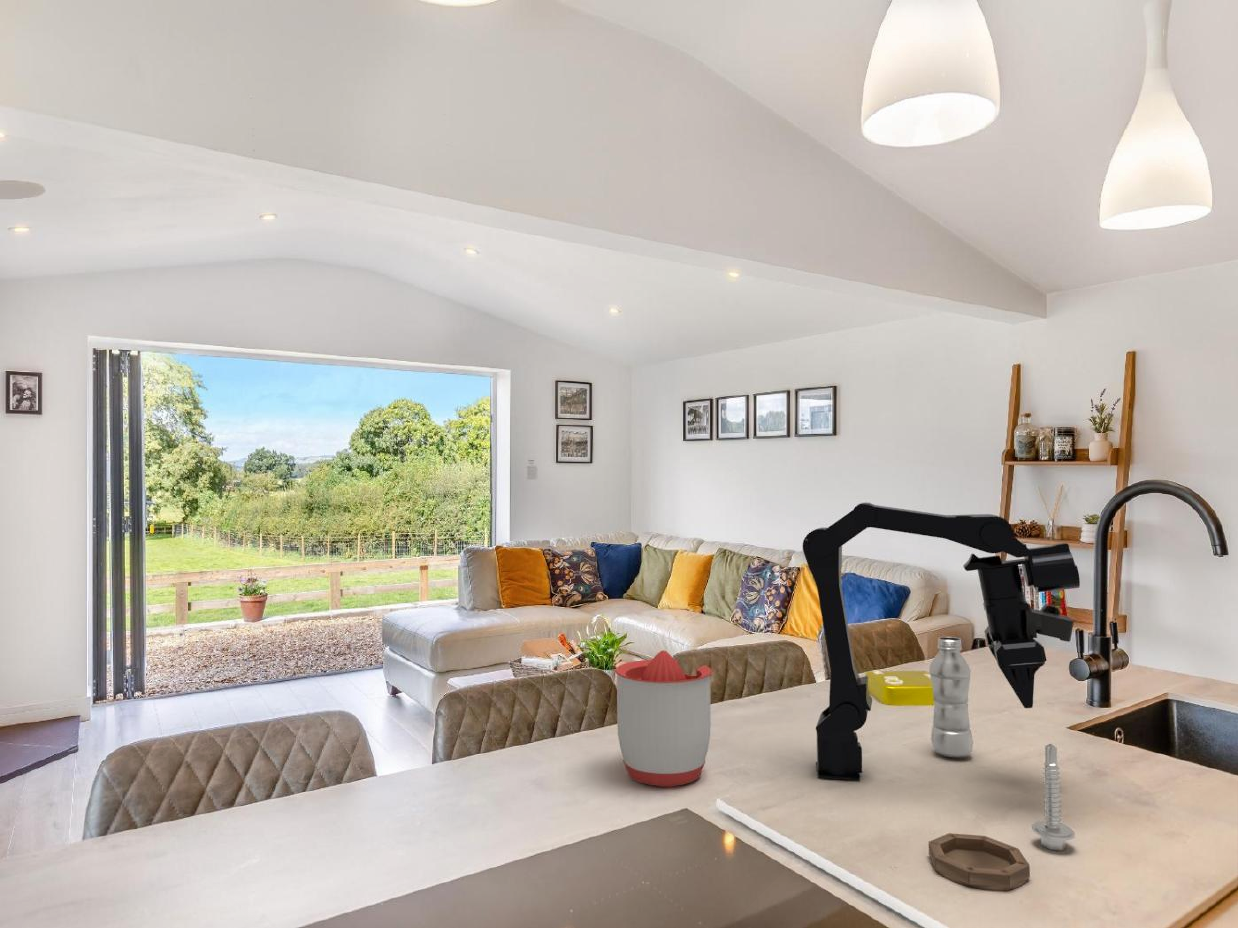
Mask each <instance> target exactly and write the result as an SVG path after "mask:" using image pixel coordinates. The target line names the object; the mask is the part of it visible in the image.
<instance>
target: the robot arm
mask: <svg viewBox="0 0 1238 928" xmlns="http://www.w3.org/2000/svg"><path fill="white" fill-rule="evenodd" d="M867 528H873V529H881V530H887V531H894V532H900V533H904V534H906V533H907V534H913V535H918V536H920V535H921V536H925V537H926V536H927V537H931V538H932V537H933V538H940V539H944V540H948V541H951V542H955V543H957V544H960V545H963V546H965V547H969V548H972V549H975V550H977V551H981V552H983V553H984V552H985V553H988V554H999V553H1002V552H1003V553H1005V554H1008V555H1010V556H1012V557H1015V558H1018V559H1009V560H1002V558H1001V556H1000V555H991V556H984V557H979V556H977V555H976V554H975V553H971V554H970V556H969V558H968V560H967V561H966V562H965V563H964V564H963V566H962V567H963V568H964V571H967V572H969V571H970V572H971V571H977V574H978V579H979V584H980V590H981V593H982V594H981V596H982V599H983V600H982V601H983V602H982V604H983V609H984V612H985V614H986V620H987V627H986V628H985V629H984V631H983V632H984V636H985V641H986V644H987V645H988V649H989V651H990V652H991V654H992V655H993V657H994V659H995V661H996V663H997V665H998V668H999V669H1000V670H1001V672H1002V674H1003V676H1004V677H1005V679H1006V680H1007V682H1008V684H1009V685H1010V687H1011V688H1012V690H1013V692H1014V694H1015V695H1016V696H1017V698H1018V700H1019V701H1020V703H1021V705H1022V706H1023V708H1024V709H1032V708H1033V707H1034V693H1035V692H1034V690H1035V676H1036V672H1037V671H1038V670H1039V669H1040V668H1041V667H1044V666H1045V664H1046V662H1047V661H1048V660H1047V654H1046V650H1045V647H1044V646H1043V645H1042V643H1040V642H1039V641H1037V640H1036V638H1038V634H1039V635H1043V636H1045V637H1050V638H1055V639H1059V640H1060V641H1062V642H1067V643H1069V642H1071V638H1072V634H1073V628H1074V623H1075V620H1074V619H1072V618H1071V617H1069V616H1067V615H1066V614H1065V615H1064V614H1060V612H1059V608H1058V607H1057V606H1055V605H1051V604H1044V605H1043V607H1042V608H1041V609H1033V608H1032V606H1031V604H1030V603H1029V602H1028V600H1026V597H1025V592H1024V587H1023V583H1022V578H1021V573H1020V568H1019V566H1021V567H1022V572H1023V573H1022V574H1023V577H1024V581H1025V584H1026V587H1032V586H1033V588H1034V590H1035V592H1036V593H1045V592H1054V591H1063V590H1071V589H1079V588H1080V584H1081V583H1080V582H1081V581H1080V573H1079V568H1078V565H1077V564H1076V563H1075V559H1074V557H1073V554H1072V552H1071V549H1070V545H1069V543H1067V542H1059V543H1058V542H1057V543H1054V544H1052V545H1045V546H1037V547H1030V548H1029V547H1027V544H1026V543H1024V542H1021V541H1020V540H1019V539H1017V537H1015V536H1014V530H1013V527H1012V524H1010V523H1009V522H1008V520H1007V519H1006V518H1003V517H1002V516H998V515H996V514H991V513H985V514H984V513H983V514H982V513H981V514H980V513H979V514H951V515H950V514H939V513H932V512H928V511H927V512H926V511H919V510H913V509H904V508H899V507H891V506H884V505H878V504H873V503H871V502H862V503H858V504H857V505H856V506H854V508H853V509H852V510H851V511H850V512H848V513H847V514H845V515H844V516H842V517H841V518H840V519H838V520H837V521H835V522H834V523H832V524H831V525H830V526H827V527H819V528H815V529H814V530H811V531H809V533H807V535H806V536H805V537H804V539H803V542H802V553H803V555H804V557H805V561H806V563H807V567H808V569H809V571H810V572H809V573H810V574H811V575H812V578H813V580H814V582H815V585H816V589H817V595H818V600H819V601H818V602H819V608H820V613H821V621H822V625H823V632H824V638H825V643H826V644H825V645H826V650H827V656H828V662H829V668H830V670H829V671H830V679H829V680H830V681H829V697H828V699H829V701H828V705H829V706H828V707H826V708H825V709H824V710H823V711H822V712H821V713H820V716H819V717H818V721H817V724H816V726H815V731H816V761H815V768H816V774H817V778H819V779H833V780H845V781H846V780H847V781H848V780H849V781H860V780H861V775H860V774H862V773H863V748H862V745H861V742H859V737H858V735H857V732H856V731H858V730H860V729H861V728H862V727H863V726H864V725H865V724H866V721H867V718H868V713H869V712H870V711H871V710H872V704H873V698H872V697H871V696H872V695H871V694H870V693H869V691H868V676H865V675H864V676H862V677H860V675H859V673H858V670H857V668H856V665H855V660H854V653H853V650H852V649H853V648H852V641H851V637H850V631H849V625H848V618H847V613H846V612H847V610H846V606H845V599H844V593H843V587H842V565H843V546H844V545H845V544H847V543H848V542H849V541H851V540H852V539H853V538H855V537H856V536H858V535H859V534H860V533H862V532H863V531H865V530H866V529H867Z"/></svg>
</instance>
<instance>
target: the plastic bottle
mask: <svg viewBox="0 0 1238 928" xmlns="http://www.w3.org/2000/svg"><path fill="white" fill-rule="evenodd" d="M936 648H937V650H938V653H937V654H936V655H935V656H934V657H933V659H932V660H931V662H930V664H929V667H928V668H929V673H930V677H931V682H932V688H933V698H934V705H933V723H932V725H933V726H932V727H931V734H930V740H931V744H932V748H933V750H934V751H935V752H936V754H939V755H941V756H944V757H948V758H967V757H969V756H970V755H971V754H972V752H973V747H974V740H973V738H974V737H973V733H972V730H971V725H970V716H969V715H970V714H969V704H968V702H969V692H970V691H969V690H970V683H971V682H970V681H971V668H970V666H969V664H968V662H967V661H966V659H965V658H964V657H963V655H962V653H961V651H962V650H963V647H962V638H960V637H955V636H940V637H938V638H937V646H936Z"/></svg>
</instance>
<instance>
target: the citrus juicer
mask: <svg viewBox="0 0 1238 928" xmlns="http://www.w3.org/2000/svg"><path fill="white" fill-rule="evenodd" d="M614 672H615V674H616V691H617V692H616V702H617V703H616V709H617V710H616V715H617V717H616V720H617V722H616V723H617V725H616V726H617V737H618V742H619V748H620V752H621V754H622V755H621V756H622V758H623V760H622V761H623V764H624V766H625V769H626V772H627V774H628V775H629V777H630V778H631V779H632V780H634V781H636V782H638V783H642V784H645V785H651V786H659V787H662V788H664V789H666V788H667V789H668V788H672V787H674V786H681V785H686V784H689V783H692V782H694V781H696V780H698V778H700V776H701V773H702V771H703V769H704V766H705V764H706V757H707V754H708V750H709V747H710V746H709V745H710V740H711V727H712V726H711V725H712V723H711V722H712V721H711V719H712V718H711V715H712V714H711V708H712V707H711V675H712V674H713V671H712V669H711V668H710V667H709V666H707V665H705V664H703V665H702V666H700V667H699V668H697V669H696V675H690V674H686V673H685V672H684V671H683V669H682V667H681V666H680V664H679V661H678V659H675V658H674V657H673V656H672V655H671V654H670V653H669V652H668V651H666V650H660V651H659V652H658V653H657V654H655V656H654V657H653V658H652V659H642V660H635V661H629V662H625V663H622V664H620V665H618V666H617V667H616V668H615V671H614Z"/></svg>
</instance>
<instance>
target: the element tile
mask: <svg viewBox="0 0 1238 928" xmlns="http://www.w3.org/2000/svg"><path fill="white" fill-rule="evenodd" d="M865 676H868V691H869V694H870V696H872V697H874V699H876V701H878V702H880V704H883V705H884V706H885V705H886V706H892V707H896V706H897V707H899V706H900V707H901V706H902V707H904V706H905V707H906V706H911V707H912V706H914V707H916V706H934V698H933V688H932V682H931V677H930V671H925V670H875V671H874V670H868V671H866V672H865V674H864V677H865Z"/></svg>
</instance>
